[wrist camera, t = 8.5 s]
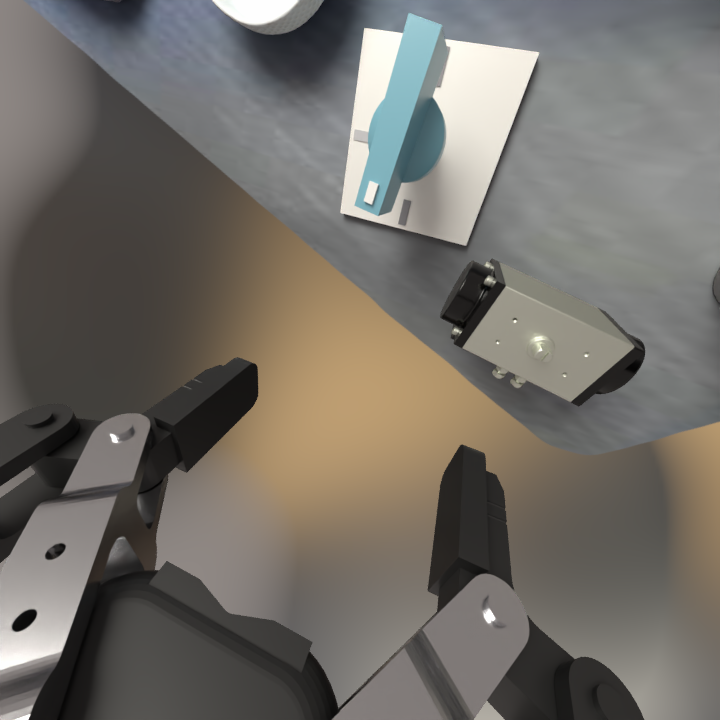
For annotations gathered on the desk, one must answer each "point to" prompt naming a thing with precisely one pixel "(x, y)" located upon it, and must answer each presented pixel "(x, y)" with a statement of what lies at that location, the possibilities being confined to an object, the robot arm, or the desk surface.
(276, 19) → the cereal bowl
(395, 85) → the blue switch lever
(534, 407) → the desk surface
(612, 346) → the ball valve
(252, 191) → the desk surface
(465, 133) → the base plate
